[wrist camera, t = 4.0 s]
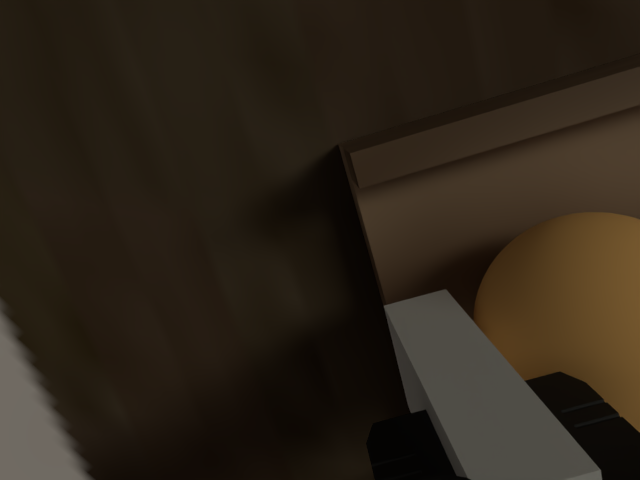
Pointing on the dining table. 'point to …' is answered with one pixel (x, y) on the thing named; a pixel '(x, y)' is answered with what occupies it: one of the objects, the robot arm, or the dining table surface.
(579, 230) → the ball
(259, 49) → the dining table surface
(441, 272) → the lane
